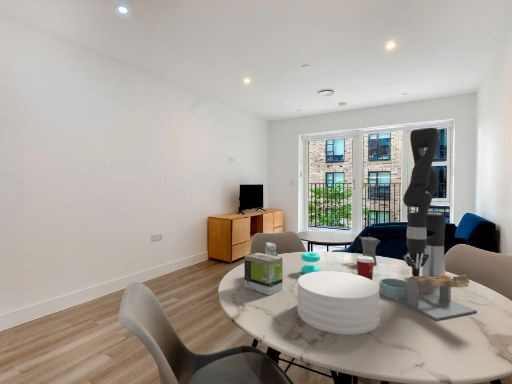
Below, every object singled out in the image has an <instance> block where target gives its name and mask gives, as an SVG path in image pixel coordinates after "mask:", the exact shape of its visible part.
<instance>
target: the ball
mask: <svg viewBox="0 0 512 384" xmlns="http://www.w3.org/2000/svg"><path fill="white" fill-rule="evenodd" d="M448 276H449V275H447V274H446V273H445V274H440V275H439V277H438V278H439V280H449V278H448Z"/></svg>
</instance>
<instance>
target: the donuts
mask: <svg viewBox="0 0 512 384" xmlns="http://www.w3.org/2000/svg"><path fill="white" fill-rule="evenodd" d="M300 257H301V259H302V261H303V262H307V263H317V262H319V261H320V259H321V256H320V254H318V253H316V252H304V253H302V254H301V256H300ZM319 271H321V269H320V267H319V266H317V265H315V264H305V265H303V266H301V269H300V272H301V273H302V274H303V275H304V274H307V273H311V272H319Z"/></svg>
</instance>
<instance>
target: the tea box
mask: <svg viewBox="0 0 512 384" xmlns="http://www.w3.org/2000/svg"><path fill="white" fill-rule="evenodd" d="M243 265H244V272H243V273H244V288H247V289H249V290H253V291H255V292H259V293H261V294H264V295H267V296H270V295H273V294H275V293H278V292H281V291H282V290H283V284H284V283H283V279H284V278H283V257H282V256H278V255H277V256H273V255H268V254H265V253H263V252H262V253H261V252H255V253H252V254H247V255H245V256H244V264H243Z"/></svg>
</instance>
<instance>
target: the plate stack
mask: <svg viewBox="0 0 512 384" xmlns="http://www.w3.org/2000/svg"><path fill="white" fill-rule="evenodd" d="M297 314H298V316H299V318H300V319H301V320H302V321H303V322H304V323H306V324H308V325H309V326H311V327H313V328H316V329H318V330H321V331H325V332H329V333H333V334H338V335H339V334H340V335H360V334H364V333H369V332H371V331H374V330H375V329H376V328H377V327H378V326H379V324H380V291H379V284H378V283H377V282H375V281H374V280H373V279H372V280H370V279H368V278H365V277H363V276H359V275H358V274H354V273H350V272H343V271H331V270H324V271H323V270H322V271H321V270H320V271H319V272H311V273H307V274H304V273H303V274H302V275H301V276H299V277H298V279H297Z"/></svg>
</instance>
